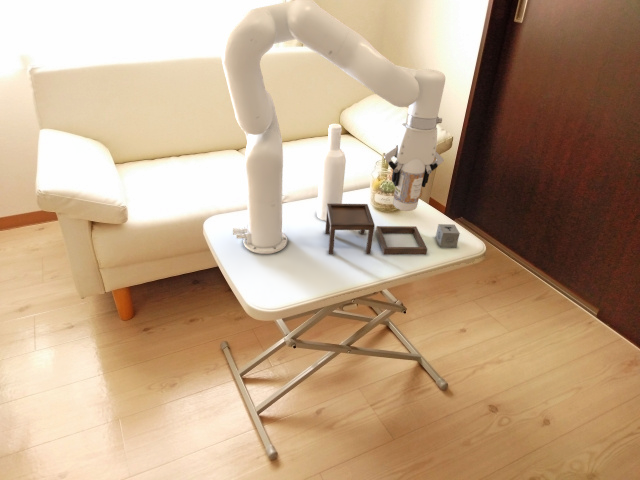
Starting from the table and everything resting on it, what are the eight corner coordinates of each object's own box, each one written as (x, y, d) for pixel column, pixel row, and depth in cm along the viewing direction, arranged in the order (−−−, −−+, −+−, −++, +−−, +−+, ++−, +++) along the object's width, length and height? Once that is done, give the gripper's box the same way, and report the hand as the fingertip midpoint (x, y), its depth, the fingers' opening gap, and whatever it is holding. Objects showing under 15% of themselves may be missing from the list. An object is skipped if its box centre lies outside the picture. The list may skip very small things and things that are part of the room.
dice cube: (451, 238, 139) (454, 224, 136) (456, 247, 135) (459, 233, 132) (435, 238, 139) (438, 224, 136) (439, 247, 135) (443, 233, 132)
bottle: (341, 222, 144) (349, 130, 128) (316, 221, 144) (321, 129, 127) (340, 210, 150) (348, 121, 134) (316, 208, 150) (322, 120, 134)
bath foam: (403, 213, 125) (417, 144, 114) (387, 203, 129) (399, 135, 119) (421, 208, 128) (436, 140, 117) (405, 198, 133) (418, 132, 122)
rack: (328, 254, 128) (331, 224, 123) (325, 231, 139) (327, 203, 133) (426, 254, 131) (432, 225, 126) (415, 231, 141) (420, 204, 136)
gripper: (449, 118, 120) (435, 179, 129) (384, 115, 118) (375, 177, 127) (458, 128, 113) (443, 191, 123) (390, 124, 112) (380, 189, 121)
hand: (408, 184), depth 125 cm, fingers closed on bath foam, 7 cm apart
